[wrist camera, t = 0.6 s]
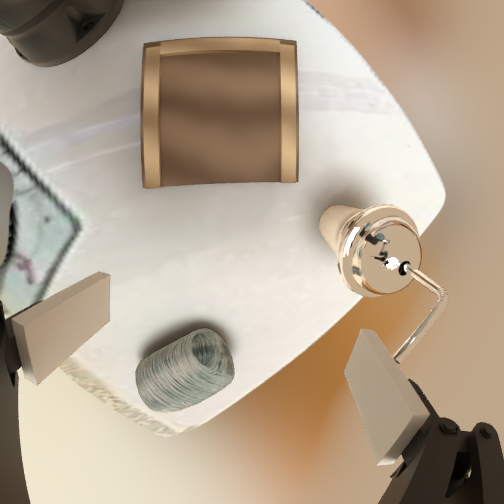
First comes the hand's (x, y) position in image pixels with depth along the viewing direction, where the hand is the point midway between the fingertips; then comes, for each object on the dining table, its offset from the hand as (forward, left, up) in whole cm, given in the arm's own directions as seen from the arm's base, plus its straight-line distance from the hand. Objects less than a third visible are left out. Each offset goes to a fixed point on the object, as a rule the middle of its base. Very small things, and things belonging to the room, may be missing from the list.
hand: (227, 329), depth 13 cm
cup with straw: (0, +13, -19) cm, 23 cm away
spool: (+17, -6, -19) cm, 26 cm away
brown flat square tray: (-13, 0, -18) cm, 23 cm away
